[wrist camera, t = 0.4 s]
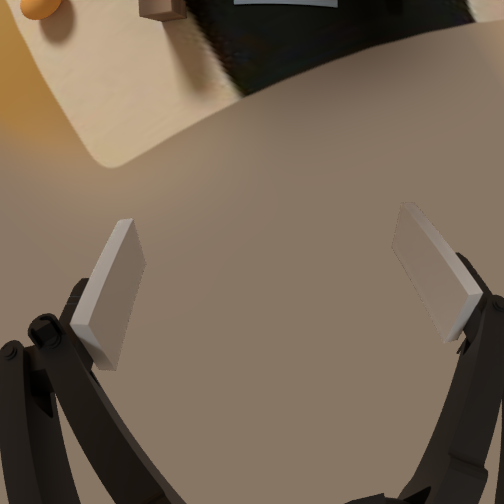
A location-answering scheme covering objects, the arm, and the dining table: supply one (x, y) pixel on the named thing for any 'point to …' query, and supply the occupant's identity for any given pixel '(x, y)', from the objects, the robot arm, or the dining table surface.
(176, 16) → the bridge
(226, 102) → the dining table surface
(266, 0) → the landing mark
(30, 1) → the ball
